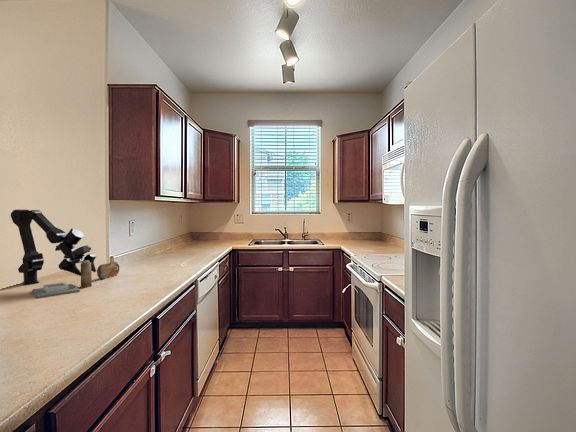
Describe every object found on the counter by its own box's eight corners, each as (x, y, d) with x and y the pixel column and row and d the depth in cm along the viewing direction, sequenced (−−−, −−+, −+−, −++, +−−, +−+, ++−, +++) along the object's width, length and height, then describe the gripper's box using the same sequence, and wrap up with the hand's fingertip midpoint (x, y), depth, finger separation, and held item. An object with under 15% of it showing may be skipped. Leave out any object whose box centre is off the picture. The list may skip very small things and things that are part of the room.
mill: (79, 286, 166) (79, 261, 165) (90, 284, 169) (89, 260, 169) (82, 288, 163) (82, 262, 162) (92, 286, 166) (92, 261, 165)
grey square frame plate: (32, 291, 155) (32, 285, 155) (71, 285, 167) (71, 280, 167) (38, 298, 144) (37, 291, 144) (79, 291, 156) (79, 285, 155)
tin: (100, 280, 180) (100, 265, 180) (95, 280, 181) (95, 264, 180) (119, 274, 195) (119, 260, 195) (115, 274, 195) (115, 260, 195)
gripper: (63, 242, 157) (83, 265, 155) (93, 238, 175) (111, 259, 173) (49, 257, 158) (69, 281, 157) (80, 252, 177) (98, 273, 175)
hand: (88, 273), depth 165 cm, fingers open, 9 cm apart
